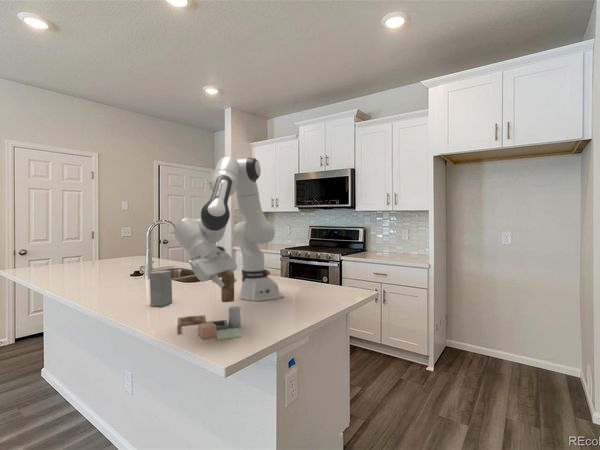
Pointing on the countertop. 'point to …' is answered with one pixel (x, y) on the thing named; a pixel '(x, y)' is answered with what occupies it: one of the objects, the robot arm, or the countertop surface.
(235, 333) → the green pad
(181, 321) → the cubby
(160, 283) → the skincare box
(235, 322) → the grey jar
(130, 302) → the countertop surface
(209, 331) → the terracotta block
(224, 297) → the walnut block
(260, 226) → the robot arm
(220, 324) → the hole frame
